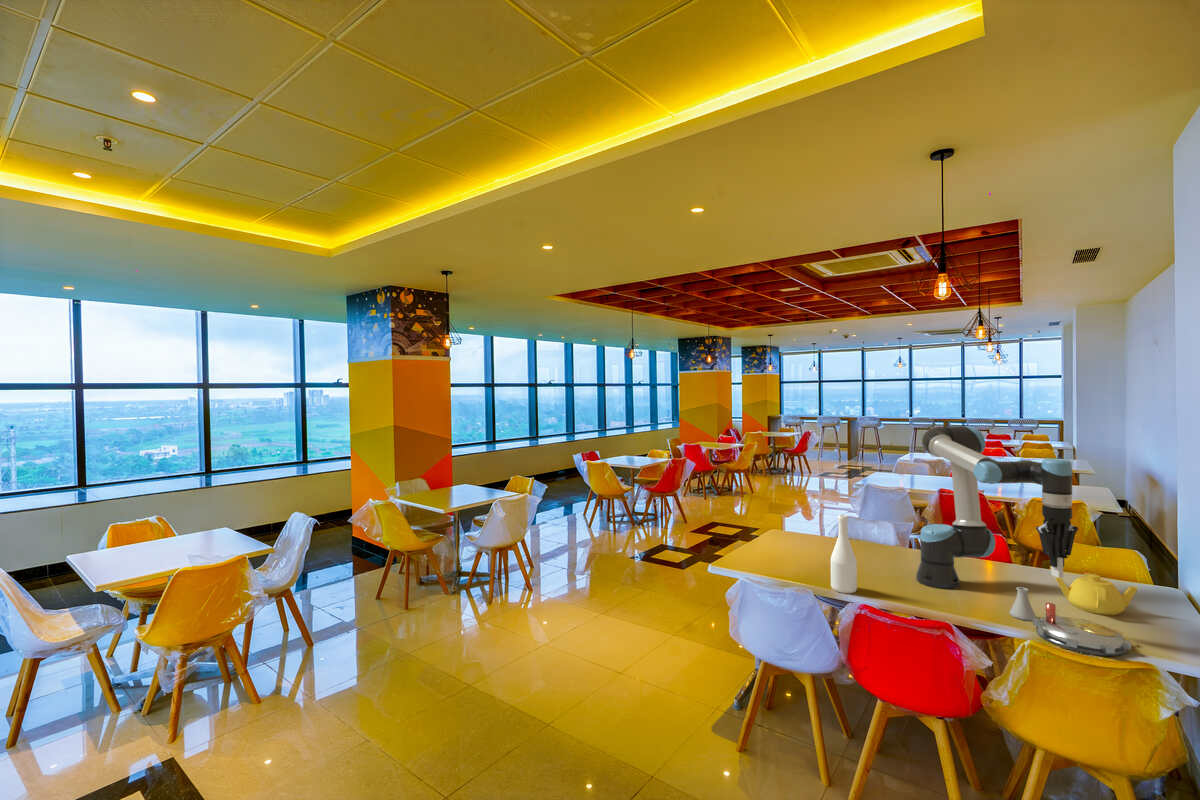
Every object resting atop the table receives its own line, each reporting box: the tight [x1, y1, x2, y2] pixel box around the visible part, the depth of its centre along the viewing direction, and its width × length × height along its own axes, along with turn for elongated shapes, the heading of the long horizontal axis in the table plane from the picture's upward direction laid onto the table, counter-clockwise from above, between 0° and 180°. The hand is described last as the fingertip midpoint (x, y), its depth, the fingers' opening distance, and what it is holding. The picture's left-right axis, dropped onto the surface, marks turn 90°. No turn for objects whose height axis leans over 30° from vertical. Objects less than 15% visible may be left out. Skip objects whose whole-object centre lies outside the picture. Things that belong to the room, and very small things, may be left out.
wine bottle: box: [830, 514, 858, 594], centre depth 211 cm, size 10×10×30 cm
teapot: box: [1054, 572, 1138, 616], centre depth 190 cm, size 17×17×12 cm
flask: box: [1008, 586, 1037, 622], centre depth 183 cm, size 7×7×10 cm
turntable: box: [1032, 602, 1132, 653], centre depth 166 cm, size 23×23×8 cm
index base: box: [1036, 626, 1138, 658], centre depth 165 cm, size 24×21×1 cm
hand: (1057, 576), depth 174 cm, fingers closed
